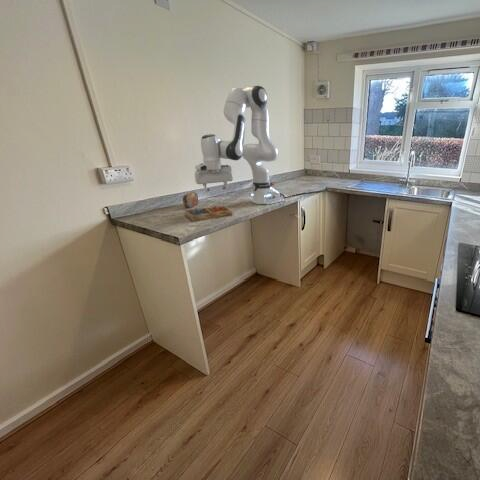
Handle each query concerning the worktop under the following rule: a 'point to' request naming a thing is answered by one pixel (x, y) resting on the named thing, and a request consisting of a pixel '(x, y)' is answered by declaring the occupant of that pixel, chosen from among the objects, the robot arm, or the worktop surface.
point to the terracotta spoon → (217, 209)
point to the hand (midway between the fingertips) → (216, 190)
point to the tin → (190, 199)
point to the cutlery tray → (208, 213)
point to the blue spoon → (198, 211)
